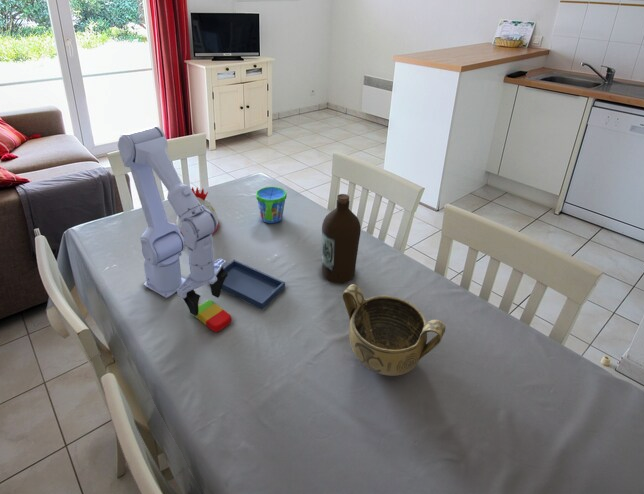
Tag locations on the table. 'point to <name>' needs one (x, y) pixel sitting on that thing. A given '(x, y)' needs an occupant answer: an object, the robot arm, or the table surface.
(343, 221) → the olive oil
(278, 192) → the snack cup
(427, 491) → the table surface
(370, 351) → the ceramic bowl
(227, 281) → the tray
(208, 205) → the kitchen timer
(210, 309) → the popsicle
